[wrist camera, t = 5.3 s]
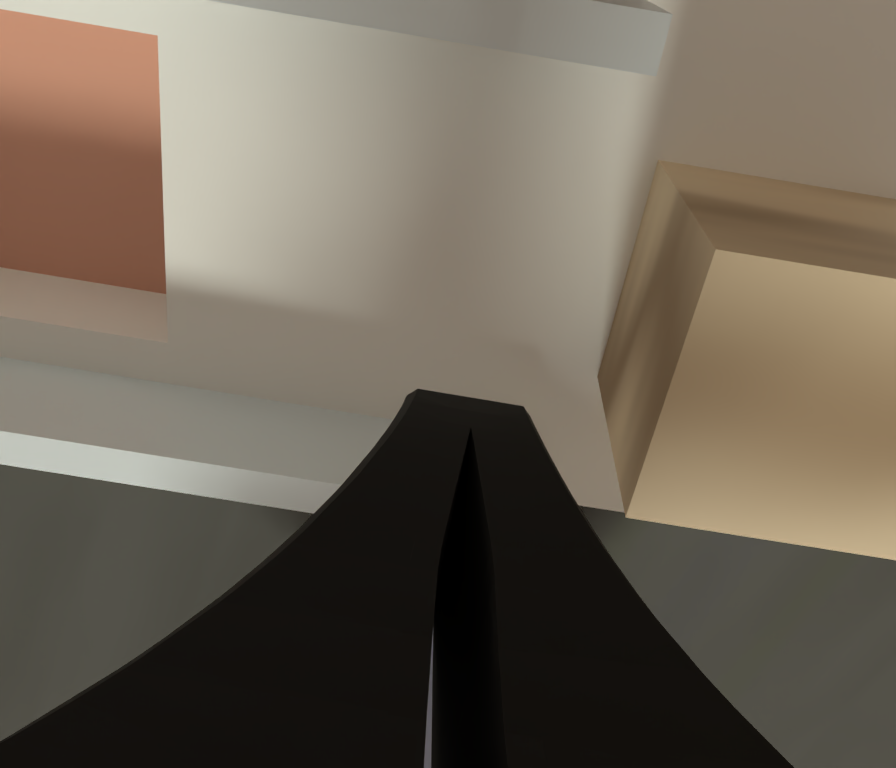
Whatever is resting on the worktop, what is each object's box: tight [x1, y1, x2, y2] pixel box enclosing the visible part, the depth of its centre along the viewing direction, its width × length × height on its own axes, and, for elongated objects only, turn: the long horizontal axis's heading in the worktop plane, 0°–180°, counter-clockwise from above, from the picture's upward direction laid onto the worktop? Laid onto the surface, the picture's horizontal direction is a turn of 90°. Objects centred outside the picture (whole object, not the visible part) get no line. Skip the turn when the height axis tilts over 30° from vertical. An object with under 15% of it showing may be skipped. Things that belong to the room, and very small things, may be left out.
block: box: [597, 160, 896, 560], centre depth 13 cm, size 4×4×4 cm
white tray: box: [0, 0, 896, 513], centre depth 15 cm, size 11×22×5 cm, turn 82°
